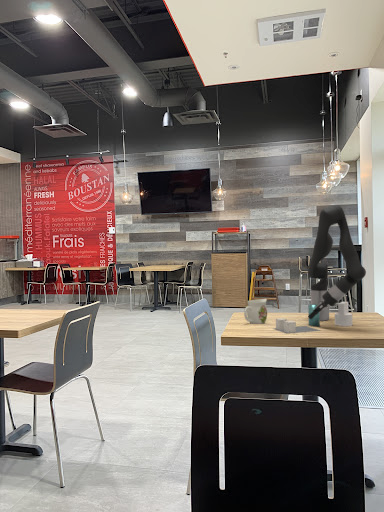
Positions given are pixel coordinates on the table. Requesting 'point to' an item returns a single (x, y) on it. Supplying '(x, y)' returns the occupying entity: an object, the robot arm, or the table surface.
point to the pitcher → (256, 311)
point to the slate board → (300, 329)
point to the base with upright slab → (343, 315)
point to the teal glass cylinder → (316, 319)
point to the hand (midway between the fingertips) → (310, 317)
